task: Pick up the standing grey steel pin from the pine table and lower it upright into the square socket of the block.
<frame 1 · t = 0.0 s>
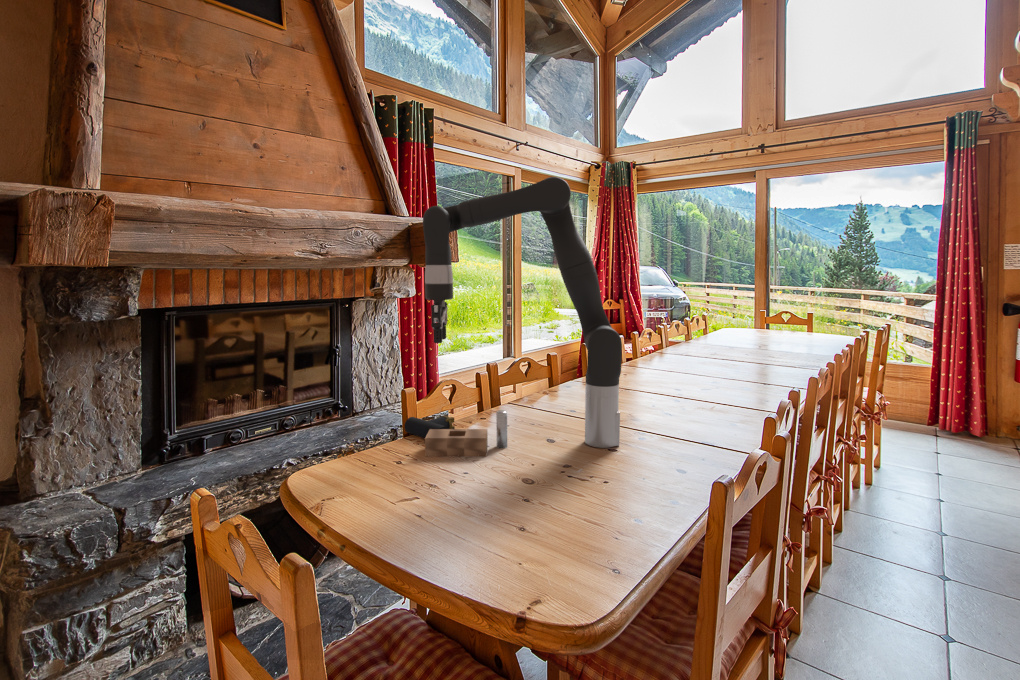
hand: (440, 340, 148), 29 cm above the table, fingers open, 8 cm apart
socket block: (457, 451, 145), on the table
pin: (502, 446, 149), on the table
pipe connector: (435, 436, 160), on the table
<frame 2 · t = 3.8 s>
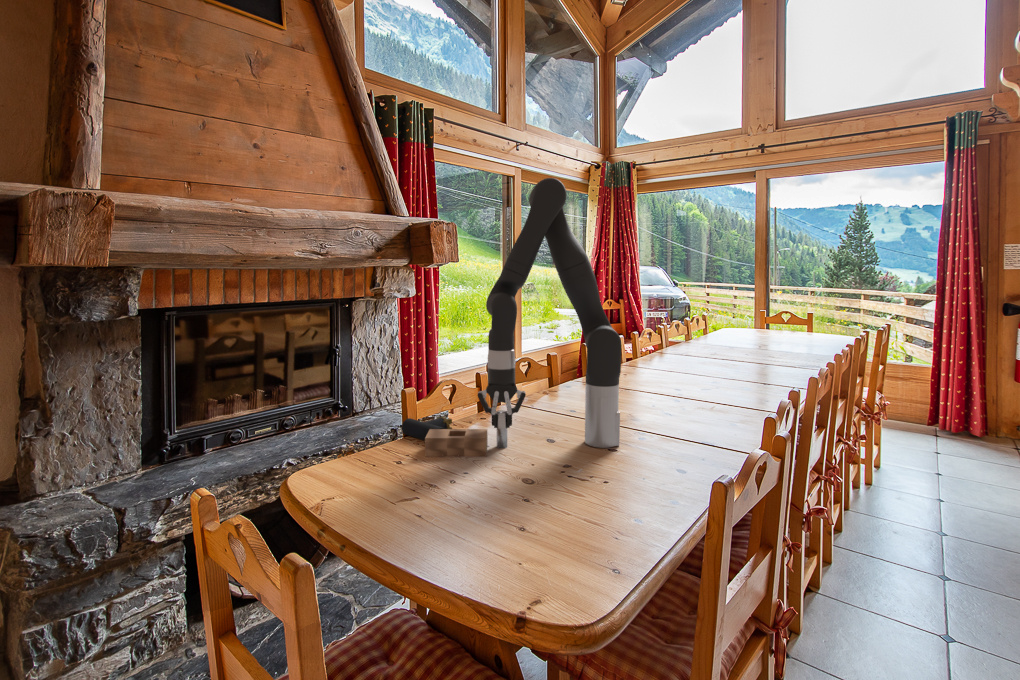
hand: (501, 426, 148), 6 cm above the table, fingers closed on pin, 3 cm apart
pin: (502, 446, 149), on the table, touching gripper
pipe connector: (433, 437, 159), on the table
when the fingers open (7 cm above the table, at t = 8.9 s): pin stays where it is, resting in socket block.
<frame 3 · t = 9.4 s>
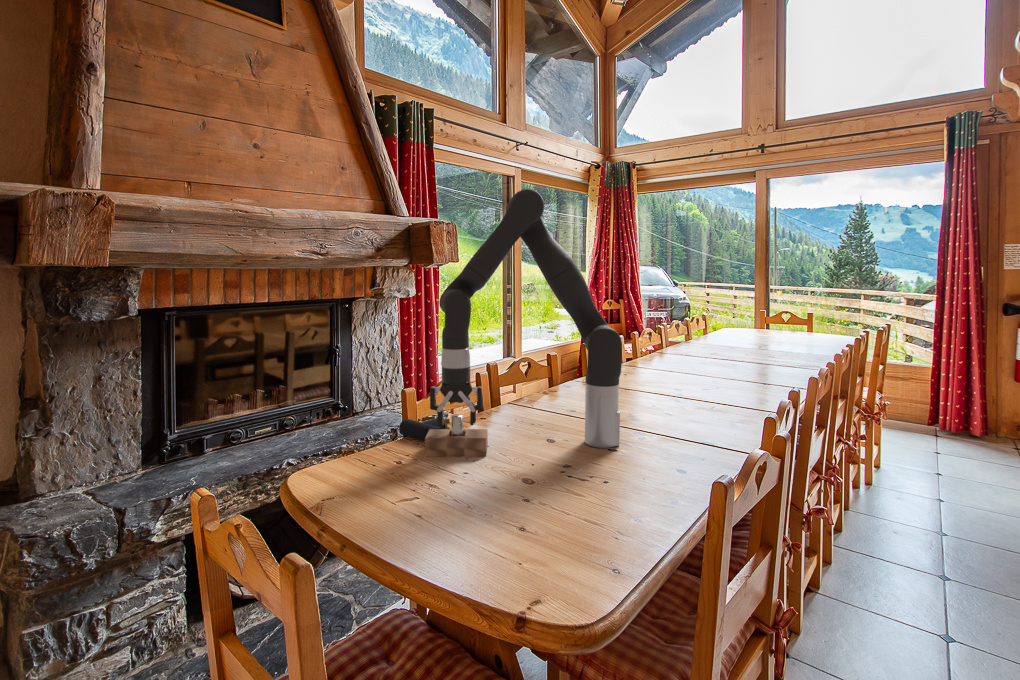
hand: (456, 424, 144), 7 cm above the table, fingers open, 7 cm apart
pin: (457, 451, 145), resting in socket block
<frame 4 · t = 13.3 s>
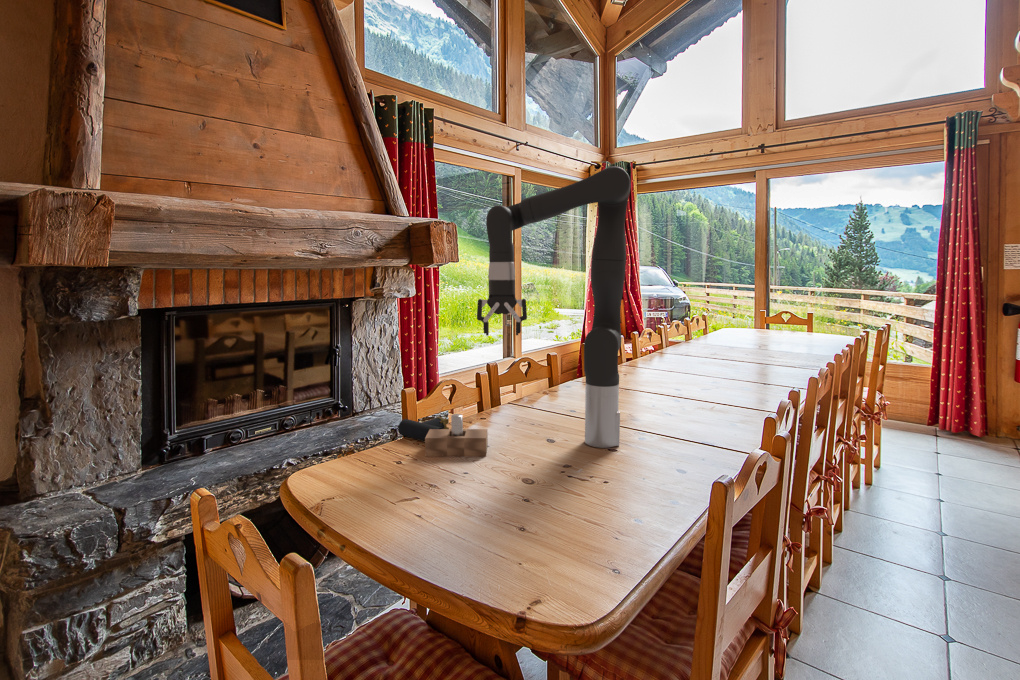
hand: (502, 335, 154), 30 cm above the table, fingers open, 8 cm apart
nothing on the table moved.
at the end: pin 0.1 cm off-centre on the socket block, point 0.0 cm above the socket block's base; pin tilted 0°; the gripper is holding nothing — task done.
